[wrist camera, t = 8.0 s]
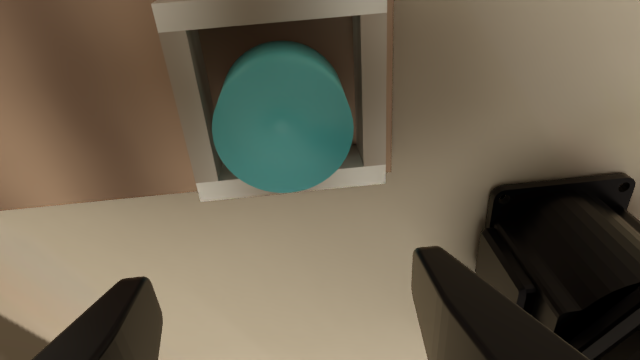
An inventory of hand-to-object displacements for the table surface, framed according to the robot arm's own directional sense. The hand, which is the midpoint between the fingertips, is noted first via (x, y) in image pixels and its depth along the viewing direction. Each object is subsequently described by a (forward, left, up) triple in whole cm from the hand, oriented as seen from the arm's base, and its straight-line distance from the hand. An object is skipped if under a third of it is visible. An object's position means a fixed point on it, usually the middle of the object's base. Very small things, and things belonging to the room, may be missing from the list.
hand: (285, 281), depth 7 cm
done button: (0, 0, -8) cm, 8 cm away
